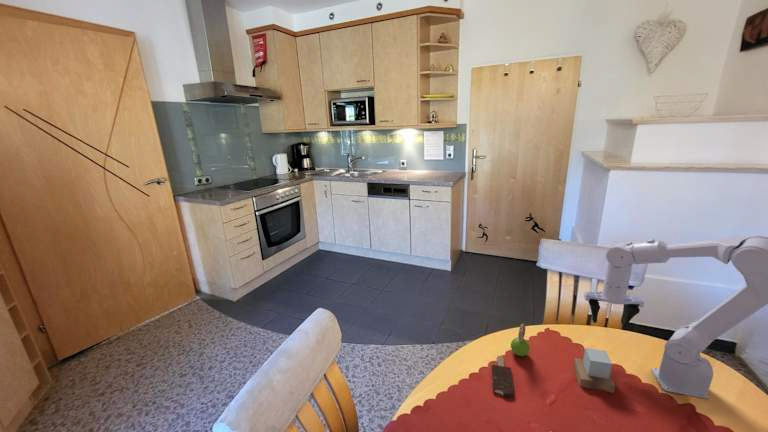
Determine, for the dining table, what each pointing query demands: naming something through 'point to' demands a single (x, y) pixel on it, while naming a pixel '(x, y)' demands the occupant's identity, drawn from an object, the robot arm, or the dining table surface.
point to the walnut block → (592, 378)
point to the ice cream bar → (502, 379)
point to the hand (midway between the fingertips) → (608, 322)
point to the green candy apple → (520, 343)
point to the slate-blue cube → (597, 363)
